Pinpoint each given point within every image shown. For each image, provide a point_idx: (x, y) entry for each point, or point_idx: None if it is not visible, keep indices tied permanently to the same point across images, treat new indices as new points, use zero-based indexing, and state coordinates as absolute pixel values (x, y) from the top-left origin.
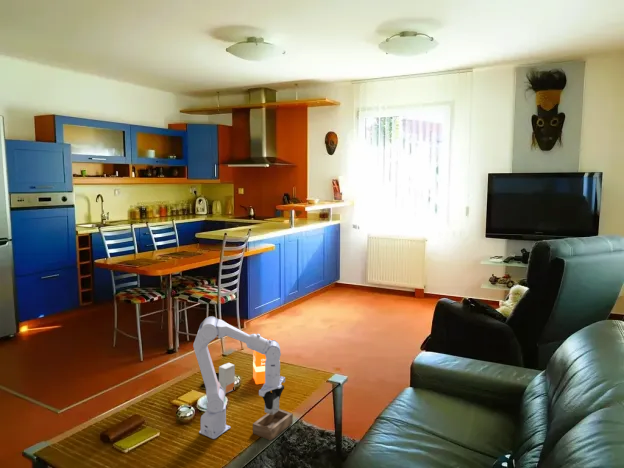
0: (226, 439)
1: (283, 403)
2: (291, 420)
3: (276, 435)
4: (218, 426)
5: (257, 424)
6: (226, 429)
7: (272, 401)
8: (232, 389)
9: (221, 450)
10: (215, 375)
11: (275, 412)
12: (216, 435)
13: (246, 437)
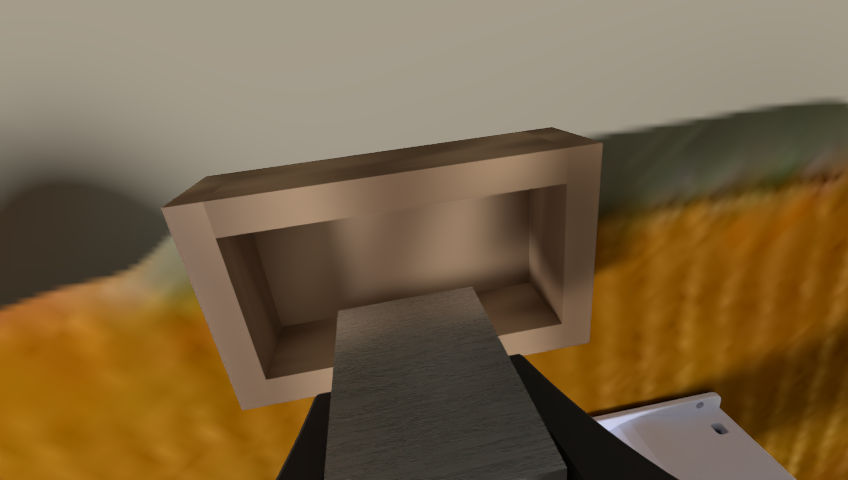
0: (682, 351)
1: (64, 440)
2: (213, 182)
3: (470, 139)
4: (707, 455)
5: (578, 309)
6: (617, 420)
7: (554, 452)
8: None
9: (788, 288)
10: None
11: (420, 301)
12: (692, 408)
13: (608, 288)
